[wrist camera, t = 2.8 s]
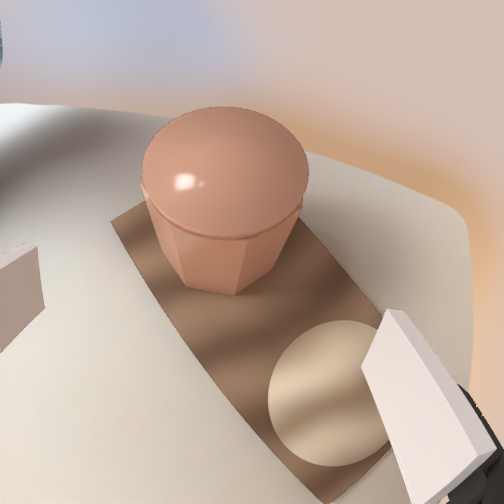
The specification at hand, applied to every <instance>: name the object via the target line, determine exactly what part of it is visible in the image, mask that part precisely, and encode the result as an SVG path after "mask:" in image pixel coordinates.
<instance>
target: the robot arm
mask: <svg viewBox="0 0 504 504" xmlns="http://www.w3.org/2000/svg"><path fill="white" fill-rule="evenodd" d="M2 57H3V49H2V34H1V23H0V67H1V64H2ZM43 309H45V306H44V300H43V294H42V287H41V280H40V271H39V262H38V251H37V246H34V245H30V244H26V243H23V244H21V245H20V246H18V247H16V248H14V249H13V250H11V251H9V252H8V253H6V254H4V255H3V256H1V257H0V353H1V352H2V351H3V350H4V349H5V348H6V347H7V346H8V345H9V344H10V343H11V342H12V340H13V339H14V338H15V337H16V336H17V335H18V334H19V333H20V332H21V331H22V330H23V329H24V328H25V327H26V326H27V325H28V324H29V323H30V322H31V321H32V320H33V319H34V318H35V317H36V316H37V315H38V314H39V313H40V312H41V311H42V310H43ZM361 368H362V371H363V373H364V376H365V378H366V380H367V383H368V385H369V388H370V390H371V393H372V395H373V398H374V400H375V403H376V406H377V408H378V411H379V413H380V416H381V419H382V421H383V424H384V426H385V429H386V432H387V434H388V437H389V440H390V443H391V445H392V448H393V451H394V454H395V457H396V459H397V462H398V465H399V468H400V471H401V474H402V477H403V480H404V483H405V486H406V489H407V492H408V495H409V498H410V501H411V504H436V503H437V502H439V501H440V500H441V499H442V498H444V497H445V496H446V495H448V498H449V500H450V501H449V502H448V503H446V504H504V449H503V447H502V446H501V444H500V442H499V441H498V439H497V437H496V436H495V434H494V432H493V431H492V429H491V428H490V426H489V424H488V423H487V421H486V419H485V418H484V416H482V413H481V411H480V410H479V408H478V407H476V404H475V402H474V401H473V399H472V398H471V396H470V395H469V393H468V392H467V391H465V390H464V389H463V388H462V387H461V386H460V385H459V384H457V383H456V382H455V380H454V379H453V377H452V376H451V374H450V373H449V371H448V370H447V369H446V367H445V366H444V364H443V363H442V361H441V360H440V359H439V357H438V356H437V354H436V353H435V352H434V350H433V349H432V347H431V346H430V345H429V343H428V342H427V341H426V339H425V338H424V337H423V335H422V334H421V332H420V331H419V330H418V328H417V327H416V326H415V325H414V323H413V322H412V321H411V319H410V318H409V317H408V315H407V314H406V313H405V311H404V310H396V309H388V308H387V309H386V312H385V314H384V316H383V319H382V321H381V324H380V326H379V328H378V331H377V333H376V335H375V337H374V340H373V342H372V344H371V346H370V349H369V351H368V353H367V355H366V357H365V359H364V361H363V363H362V366H361Z"/></svg>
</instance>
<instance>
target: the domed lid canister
mask: <svg viewBox="0 0 504 504" xmlns="http://www.w3.org/2000/svg"><path fill="white" fill-rule="evenodd" d="M142 174H143V176H142V179H141V181H140V184H141V187H142V191H143V194H144V197H145V200H146V204H147V207H148V210H149V213H150V216H151V219H152V222H153V225H154V228H155V231H156V234H157V237H158V240H159V243H160V246H161V249H162V251H163V253H164V254H165V256H166V257H167V259H168V261H169V262H170V263H171V265H172V266H173V268H174V269H175V271H176V272H177V274H178V275H179V277H180V278H181V280H182V281H183V283H184V284H185V286H186V287H188V288H193V289H199V290H204V291H210V292H216V293H222V294H228V295H234V296H235V295H236V294H237V293H239V292H240V291H242V290H243V289H245V288H246V287H248V286H249V285H250V284H252V283H253V282H255V281H256V280H258V279H259V278H261V277H262V276H263V275H265V274H266V273H268V272H269V271H270V270H272V268H273V266H274V264H275V262H276V260H277V258H278V256H279V254H280V252H281V250H282V248H283V246H284V244H285V242H286V240H287V238H288V236H289V234H290V232H291V230H292V228H293V226H294V224H295V222H296V220H297V218H298V216H299V214H300V212H301V210H302V201H303V194H304V192H305V190H306V186H307V183H308V176H309V169H308V162H307V158H306V155H305V153H304V150H303V148H302V147H301V145H300V143H299V142H298V140H297V139H296V138H295V137H294V135H293V134H292V133H291V132H290V131H289V130H287V129H286V128H285V127H284V126H283V125H281V124H280V123H278V122H277V121H275V120H274V119H272V118H270V117H267V116H265V115H263V114H260V113H258V112H255V111H251V110H248V109H243V108H237V107H209V108H204V109H199V110H195V111H192V112H189V113H186V114H184V115H182V116H180V117H177V118H176V119H174V120H172V121H171V122H169V123H168V124H166V125H165V126H164V127H163V128H162V129H161V130H160V131H159V132H158V133H157V134H156V135H155V136H154V137H153V139H152V140H151V141H150V143H149V145H148V147H147V149H146V152H145V154H144V158H143V163H142Z"/></svg>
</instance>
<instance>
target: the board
mask: <svg viewBox="0 0 504 504" xmlns="http://www.w3.org/2000/svg"><path fill="white" fill-rule="evenodd" d="M111 223H112V225H113V227H114V229H115V231H116V232H117V234H118V236H119V238H120V240H121V241H122V243H123V245H124V247H125V248H126V250H127V252H128V254H129V255H130V257H131V259H132V260H133V262H134V264H135V266H136V267H137V269H138V271H139V272H140V274H141V275H142V277H143V279H144V280H145V282H146V284H147V285H148V287H149V288H150V290H151V292H152V293H153V295H154V296H155V298H156V299H157V301H158V303H159V304H160V306H161V307H162V309H163V310H164V312H165V313H166V315H167V316H168V318H169V319H170V321H171V322H172V324H173V325H174V327H175V328H176V330H177V331H178V333H179V334H180V335H181V337H182V338H183V340H184V341H185V343H186V344H187V345H188V347H189V348H190V350H191V351H192V352H193V354H194V355H195V357H196V358H197V359H198V361H199V362H200V363H201V365H202V366H203V368H204V369H205V370H206V372H207V373H208V374H209V376H210V377H211V378H212V379H213V381H214V382H215V383H216V385H217V386H218V387H219V389H220V390H221V391H222V392H223V394H224V395H225V396H226V397H227V399H228V400H229V401H230V402H231V404H232V405H233V406H234V407H235V409H236V410H237V411H238V412H239V413H240V415H241V416H242V417H243V418H244V419H245V421H246V422H247V423H248V424H249V425H250V427H251V428H252V429H253V430H254V431H255V432H256V434H257V435H258V436H259V437H260V438H261V439H262V440H263V442H264V443H265V444H266V445H267V446H268V447H269V448H270V449H271V450H272V452H273V453H274V454H275V455H276V456H277V457H278V458H279V459H280V460H281V461H282V462H283V463H284V465H285V466H286V467H287V468H288V469H289V470H290V471H291V472H292V473H293V474H294V475H295V476H296V477H297V478H298V479H299V480H300V481H301V482H302V483H303V484H304V485H305V486H306V487H307V488H308V489H309V490H310V491H311V492H312V493H313V494H314V495H315V496H316V497H317V498H318V499H319V500H320V501H321V502H322V503H323V504H330V503H331V502H332V501H333V500H335V499H336V498H337V497H338V496H339V495H341V494H342V493H343V492H344V491H345V490H347V489H348V488H349V487H350V486H351V485H352V484H354V483H355V482H356V481H357V480H358V479H359V478H360V477H361V476H362V475H363V474H365V473H366V472H367V471H368V470H369V469H370V468H371V467H372V466H373V465H374V464H375V463H376V462H377V461H378V460H379V459H380V458H381V457H382V456H383V455H384V454H385V453H386V452H387V451H388V450H389V449H390V448H391V447H392V445H391V443H390V440H388V441H387V442H386V443H385V444H384V445H383V446H382V447H381V448H380V449H379V450H377V451H376V452H375V453H373V454H372V455H370V456H368V457H367V458H365V459H363V460H361V461H358V462H356V463H352V464H348V465H344V466H322V465H317V464H313V463H310V462H308V461H306V460H303V459H301V458H300V457H298V456H297V455H295V454H294V453H292V452H291V451H290V450H289V449H288V448H287V447H286V446H285V445H284V444H283V443H282V441H281V440H280V439H279V437H278V436H277V434H276V432H275V430H274V428H273V425H272V423H271V420H270V415H269V411H268V388H269V383H270V379H271V376H272V373H273V370H274V368H275V366H276V364H277V362H278V360H279V358H280V357H281V355H282V354H283V352H284V351H285V350H286V349H287V347H288V346H289V345H290V344H291V343H292V342H293V341H294V340H295V339H296V338H297V337H299V336H300V335H302V334H303V333H304V332H306V331H308V330H310V329H312V328H313V327H315V326H318V325H321V324H323V323H327V322H331V321H339V320H350V321H356V322H361V323H364V324H367V325H369V326H371V327H373V328H375V329H377V330H378V328H379V326H380V324H381V321H382V319H383V317H382V316H381V315H380V314H379V312H378V311H377V310H376V309H375V307H374V306H373V305H372V304H371V302H370V301H369V300H368V299H367V297H366V296H365V295H364V294H363V292H362V291H361V290H360V289H359V287H358V286H357V285H356V284H355V283H354V281H353V280H352V279H351V278H350V276H349V275H348V274H347V273H346V272H345V270H344V269H343V268H342V267H341V266H340V264H339V263H338V262H337V261H336V260H335V258H334V257H333V256H332V255H331V254H330V253H329V251H328V250H327V249H326V248H325V247H324V246H323V244H322V243H321V242H320V241H319V240H318V239H317V237H316V236H315V235H314V234H313V233H312V232H311V231H310V229H309V228H308V227H307V226H306V225H305V224H304V223H303V221H302V220H301V219H300V218H299V217H298V218H297V220H296V222H295V224H294V226H293V228H292V230H291V232H290V234H289V236H288V238H287V240H286V242H285V244H284V246H283V248H282V250H281V252H280V254H279V256H278V258H277V260H276V262H275V264H274V266H273V268H272V270H270V271H269V272H268V273H266V274H265V275H263V276H262V277H261V278H259V279H258V280H256V281H255V282H253V283H252V284H250V285H249V286H248V287H246V288H245V289H243V290H242V291H240V292H239V293H237V294H236V295H235V296H234V295H228V294H222V293H216V292H210V291H204V290H199V289H193V288H188V287H186V286H185V284H184V283H183V281H182V280H181V278H180V277H179V275H178V274H177V272H176V271H175V269H174V268H173V266H172V265H171V263H170V262H169V261H168V259H167V257H166V256H165V254H164V253H163V251H162V249H161V246H160V243H159V240H158V237H157V234H156V231H155V228H154V225H153V222H152V219H151V216H150V213H149V210H148V207H147V204H146V201H144V202H142V203H141V204H139V205H137V206H135V207H134V208H132V209H130V210H129V211H127V212H125V213H124V214H122V215H120V216H119V217H117V218H115V219H114V220H112V221H111Z"/></svg>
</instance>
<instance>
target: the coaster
mask: <svg viewBox="0 0 504 504" xmlns="http://www.w3.org/2000/svg"><path fill="white" fill-rule="evenodd" d="M377 331H378V330H377V329H375V328H373V327H371V326H369V325H367V324H364V323H361V322H356V321H350V320H339V321H331V322H327V323H323V324H321V325H318V326H315V327H313V328H312V329H310V330H308V331H306V332H304V333H303V334H302V335H300V336H299V337H297V338H296V339H295V340H294V341H293V342H292V343H291V344H290V345H289V346H288V347H287V349H286V350H285V351H284V352H283V354H282V355H281V357H280V358H279V360H278V362H277V364H276V366H275V368H274V370H273V373H272V376H271V379H270V383H269V388H268V411H269V415H270V420H271V423H272V425H273V428H274V430H275V432H276V434H277V436H278V437H279V439H280V440H281V441H282V443H283V444H284V445H285V446H286V447H287V448H288V449H289V450H290V451H291V452H292V453H294V454H295V455H297V456H298V457H300V458H301V459H303V460H306V461H308V462H310V463H313V464H317V465H322V466H344V465H348V464H352V463H356V462H358V461H361V460H363V459H365V458H367V457H368V456H370V455H372V454H373V453H375V452H376V451H377V450H379V449H380V448H381V447H382V446H383V445H384V444H385V443H386V442H387V441H388V440H389V437H388V434H387V432H386V429H385V426H384V424H383V421H382V419H381V416H380V413H379V411H378V408H377V406H376V403H375V400H374V398H373V395H372V393H371V390H370V388H369V385H368V383H367V380H366V378H365V376H364V373H363V371H362V368H361V366H362V363H363V361H364V359H365V357H366V355H367V353H368V351H369V349H370V346H371V344H372V342H373V340H374V337H375V335H376V333H377Z"/></svg>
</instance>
